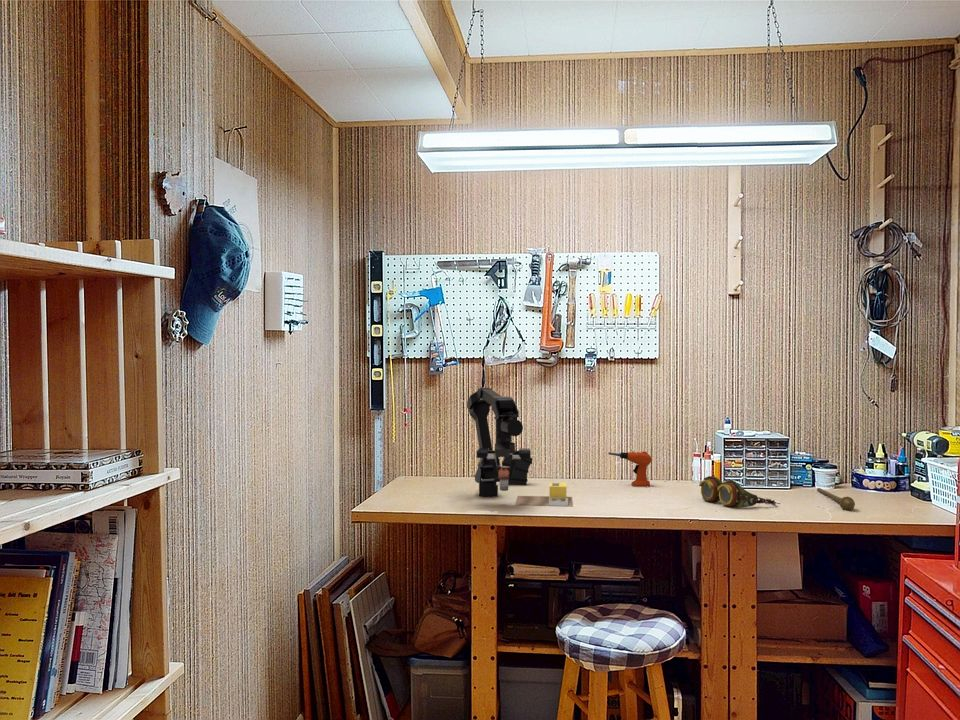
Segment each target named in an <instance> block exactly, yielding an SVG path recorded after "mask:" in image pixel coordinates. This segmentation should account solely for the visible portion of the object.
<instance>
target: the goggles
mask: <svg viewBox="0 0 960 720" xmlns="http://www.w3.org/2000/svg"><path fill="white" fill-rule="evenodd" d="M698 486H699V487H700V494H701V497H702V499H703V500H704V501H706V502H709V503H719V502H721V503H722V505H724V506H726V507H728V508H729V507H730V508H734V507H735V508H734V509H738V508H747V507H753V506H756V504H760V505H761V504H765V505H772V506H776V501H775V499H771V498H763V497H760V496H758V495H756V494H753V493H751V492H749V491H747V490H746V489H744V488H743V487H742V486H741V485H740V484H739V483H738V482H736V480H726V481H724V482H723V481H721V480H720V478H719V477H717V476H712V475H710V476H706V477H704V478H703V480H701V481H700V482H699V484H698ZM758 499H760V500H758Z"/></svg>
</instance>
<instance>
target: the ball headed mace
mask: <svg viewBox="0 0 960 720" xmlns="http://www.w3.org/2000/svg"><path fill="white" fill-rule="evenodd" d="M816 492H818V493H820V494H822V495H823V496H826V497H828V498H830V499H832V500H834V501H836V502H839V507H840V508H841V509H842V510H845V511H852V510H853V509H854V508H855V505H856V503H855V501H854V499H853V498H852V497H850V496H844V497H840V496H837V495H835V494H833V493H831V492H828V490H824V489H822V488H820V487H818V488H816Z"/></svg>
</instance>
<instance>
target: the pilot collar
mask: <svg viewBox="0 0 960 720" xmlns="http://www.w3.org/2000/svg"><path fill="white" fill-rule="evenodd" d="M565 506H568V498H555V497H549V506H548V507H565Z"/></svg>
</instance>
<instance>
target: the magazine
mask: <svg viewBox="0 0 960 720" xmlns="http://www.w3.org/2000/svg"><path fill="white" fill-rule="evenodd" d="M515 451H517V450H516V449H515ZM533 460H534V459H533V458H532V457H531V458H521V459H520V461H517V463H516V465H515V467H514V470H513V474H512V477H511V478H508V486H527V485H528V484H527V482H528V474H529V472H530V471H529V469H530V466H531V465H532V464H533ZM511 462H512V456H509V457H503V460H502V461H501V466H508V467H510V470H511Z"/></svg>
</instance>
